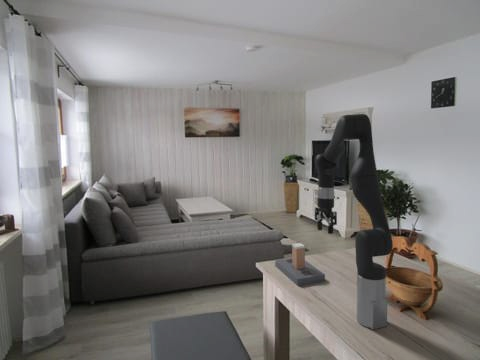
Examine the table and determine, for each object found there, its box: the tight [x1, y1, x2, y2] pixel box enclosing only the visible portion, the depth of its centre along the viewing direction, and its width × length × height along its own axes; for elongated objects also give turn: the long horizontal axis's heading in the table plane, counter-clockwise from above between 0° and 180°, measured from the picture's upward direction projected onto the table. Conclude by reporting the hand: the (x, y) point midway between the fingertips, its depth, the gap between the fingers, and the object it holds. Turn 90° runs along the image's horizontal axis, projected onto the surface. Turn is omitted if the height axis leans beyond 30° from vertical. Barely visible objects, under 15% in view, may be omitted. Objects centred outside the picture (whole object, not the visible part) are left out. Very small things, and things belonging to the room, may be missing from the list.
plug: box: [291, 242, 306, 270], centre depth 155 cm, size 4×4×14 cm
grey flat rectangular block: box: [274, 257, 326, 287], centre depth 156 cm, size 24×14×3 cm, turn 17°
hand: (324, 231), depth 150 cm, fingers open, 8 cm apart
